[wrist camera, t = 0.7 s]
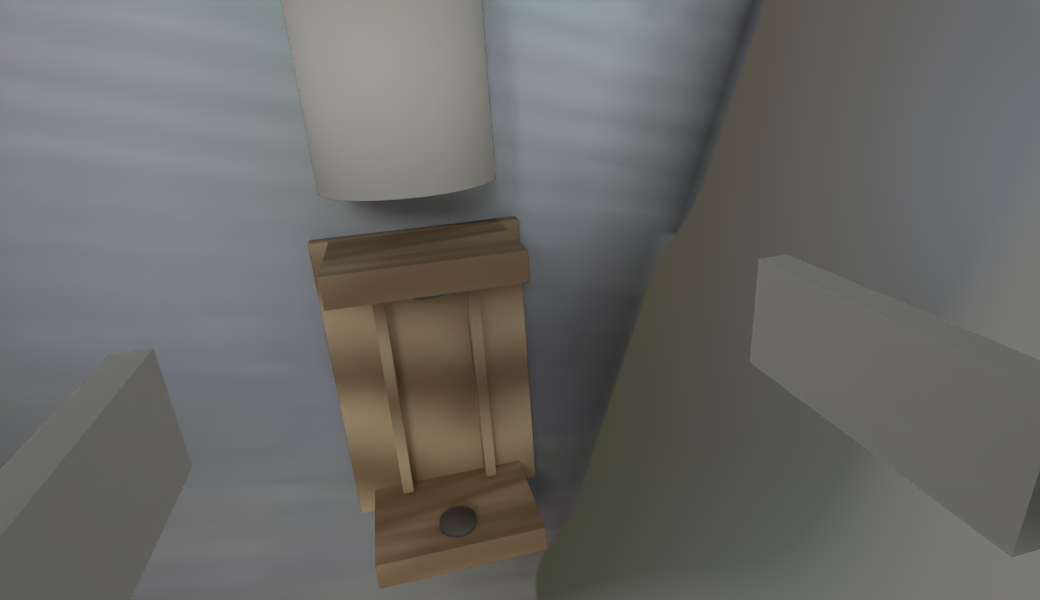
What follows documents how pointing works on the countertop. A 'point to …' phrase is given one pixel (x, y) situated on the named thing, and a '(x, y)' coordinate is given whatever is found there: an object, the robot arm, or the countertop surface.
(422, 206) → the countertop surface
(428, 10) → the roll
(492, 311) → the holder
